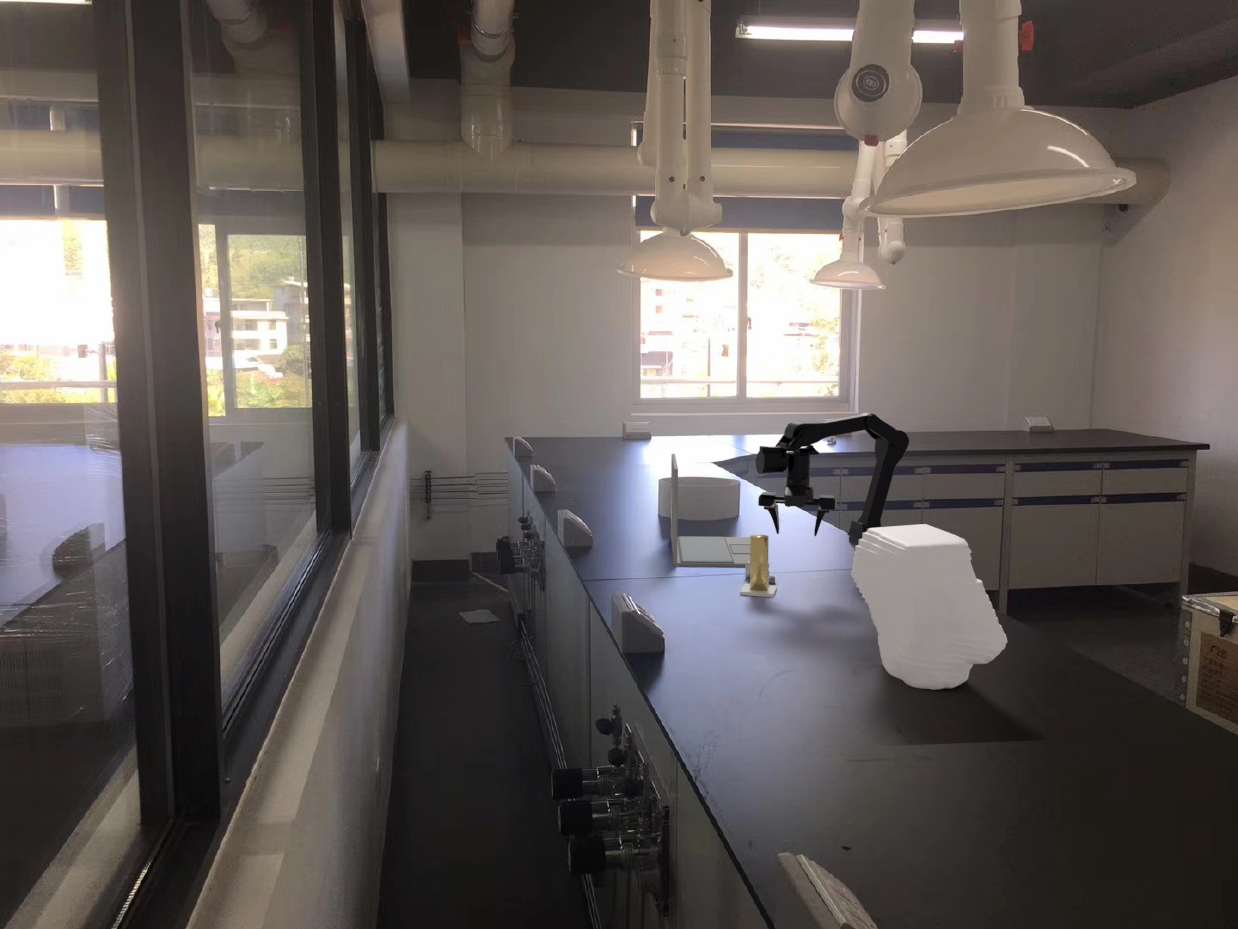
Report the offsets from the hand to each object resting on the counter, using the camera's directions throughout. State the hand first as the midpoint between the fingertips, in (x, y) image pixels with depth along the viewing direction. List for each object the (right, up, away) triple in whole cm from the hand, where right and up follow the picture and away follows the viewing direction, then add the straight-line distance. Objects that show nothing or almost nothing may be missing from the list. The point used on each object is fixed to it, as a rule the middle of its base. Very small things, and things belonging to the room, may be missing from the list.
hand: (796, 534), depth 231 cm
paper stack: (+10, -21, -61) cm, 66 cm away
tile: (-10, -14, -4) cm, 17 cm away
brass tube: (-10, -13, -4) cm, 17 cm away
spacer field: (-9, -13, +5) cm, 16 cm away
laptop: (-16, -9, +39) cm, 43 cm away
